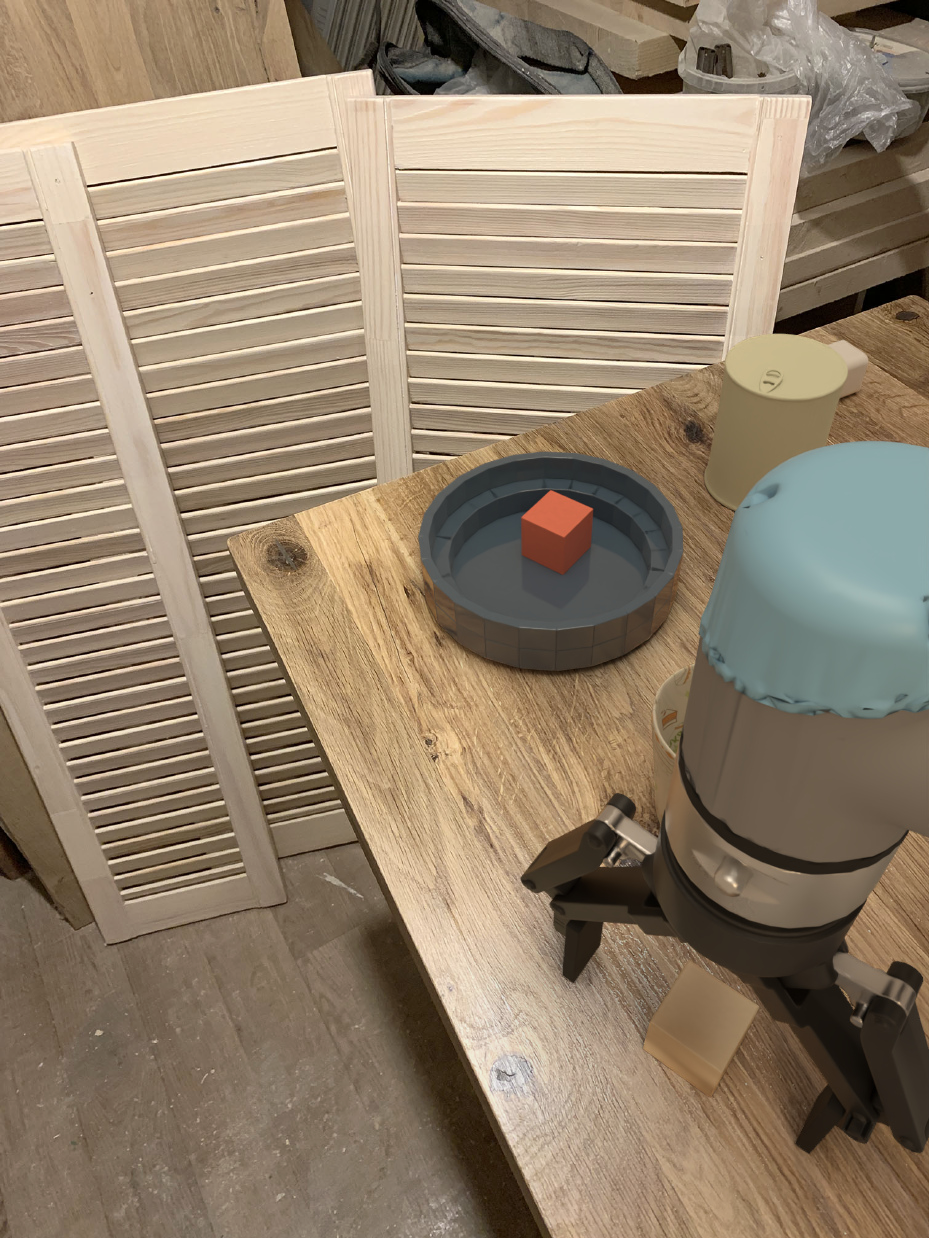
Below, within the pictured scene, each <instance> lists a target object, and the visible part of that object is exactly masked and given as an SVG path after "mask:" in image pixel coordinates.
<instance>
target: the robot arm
mask: <svg viewBox="0 0 929 1238" xmlns="http://www.w3.org/2000/svg"><path fill="white" fill-rule="evenodd" d="M725 541H726V542H725V544H724V548H723V552H722V555H721V559H720V562H719V565H718V568H717V573H716V576H715V578H714V582H713V587H712V589H711V593H710V595H709V598H708V601H707V604H706V606H705V608H704V610H703V612H702V615H701V616H700V622H699V628H698V635H699V639H698V644H697V649H696V655H695V660H694V663H695V665H694V671H693V676H692V681H691V687H690V692H689V697H688V703H687V708H686V713H685V719H684V724H683V728H682V732H681V736H680V739H679V744H678V749H677V754H676V758H675V763H674V768H673V773H672V778H671V782H670V787H669V792H668V797H667V802H666V806H665V810H664V814H663V817H662V821H661V824H660V827H659V832H658V835H657V836H655V835H654V834H652V833H651V832H650V831H648V830H646V829H645V827H642V826H641V824H640V822H638V821H637V820H635V819H634V817H635V815H636V812H637V806H636V804H635V802H634V801H633V800H632V799H631V798H630V797H629V796H627V795H626V794H624V793H620V792H615V793H614V794H613V795H612V796H611V797H610V799H609V800H608V801H607V802H606V804H605V805H604V807H602V809H601V810H600V812H599V813H598V814H597V815H596V817H595V818H593V819H591V820H589V821H587V822H584V823H583V824H581V825H579V826H577V827H575V828H574V829H572V830H570V831H568V832H566V833H564V834H562V835H560V836H557V837H556V838H553V839H552V840H550V841H548V842H547V844H546V845H545V846H544V847H543V848H542V849H541V851H540V852H539V853H538V855H536V857H535V858H534V859H533V861H532V862H531V863H530V864H529V866H528V867H527V868H526V869H525V871H524V872H523V874H522V875H521V876H520V877H519V879H520V883H521V884H522V886H523V887H524V888H526V889H527V890H528V891H530V892H531V893H534V894H540V893H543V892H544V893H545V894H546V895H547V896H548V897H549V898H550V899H551V900H550V901H549V903H548V905H549V908H550V909H551V911H552V912H553V917H552V918H553V920H552V921H553V922H552V926H553V927H554V930H555V931H556V932H557V933H559V934H560V935H561V936H563V937H564V948H563V961H562V971H561V973H562V974H561V976H562V977H563V978H565V979H566V980H568V981H569V982H571V983H572V984H575V982H576V981H577V979H578V978H579V976H580V975H581V974H582V973H583V971H584V969H585V968H586V967H587V965H588V964H589V963H590V961H591V959H592V958H593V956H594V955H595V953H596V952H597V951H598V949H600V947H601V942H602V936H603V935H602V934H603V929H604V923H610V924H622V925H635V926H638V928H639V929H640V930H641V931H642V932H643V933H644V935H647V936H656V937H657V936H658V937H666V938H667V937H669V938H677V939H678V941H679V943H683V944H687V945H688V946H689V947H690V948H692V949H693V950H694V951H695V952H697V953H698V954H699V955H701V956H702V957H703V958H705V959H707V960H708V961H710V962H712V963H714V964H715V965H718V966H719V967H721V968H723V969H726V970H728V971H729V972H730V973H731V974H733V975H734V976H735V977H737V978H738V979H739V981H741V983H742V984H746V985H749V986H750V988H751V989H752V991H753V992H754V993H755V996H756V997H757V998H758V999H759V1001H760V1003H761V1004H762V1006H763V1007H764V1008H765V1010H766V1011H767V1014H769V1016H770V1017H771V1019H772V1020H773V1021H774V1022H779V1023H783V1024H784V1025H785V1024H786V1025H788V1026H789V1028H790V1029H791V1031H792V1032H793V1034H794V1035H795V1037H796V1038H797V1040H798V1042H799V1043H800V1044H801V1046H802V1047H803V1049H804V1050H805V1052H806V1054H808V1055H807V1056H809V1057H810V1059H811V1061H812V1062H813V1063H814V1065H815V1067H816V1068H817V1070H818V1071H819V1073H820V1074H821V1076H822V1077H823V1079H824V1080H825V1082H826V1085H825V1087H824V1088H823V1089H822V1090H821V1092H820V1093H819V1094H818V1096H817V1097H816V1099H815V1101H814V1103H813V1105H812V1107H811V1110H810V1111H809V1114H808V1115H807V1118H806V1119H805V1122H804V1124H803V1125H802V1128H801V1130H800V1132H799V1134H798V1135H797V1138H796V1140H795V1142H794V1145H795V1146H797V1148H799V1149H801V1150H802V1151H803V1152H805V1153H806V1154H808V1155H810V1154H811V1153H812V1152H813V1151H814V1150H815V1149H816V1148H817V1146H818V1145H819V1144H820V1143H821V1142H822V1141H823V1140H824V1139H825V1138H826V1137H827V1135H828V1134H829V1133H830V1132H831V1131H832V1130H833V1129H834V1128H835V1127H836V1128H837V1129H839V1130H840V1131H842V1132H843V1133H844V1134H845V1135H846V1136H847V1137H849V1138H850V1139H852V1140H853V1141H855V1142H857V1143H859V1144H863V1145H866V1144H867V1145H868V1143H869V1141H870V1138H871V1136H872V1134H873V1131H874V1129H875V1127H876V1125H877V1124H882V1125H884V1126H886V1127H889V1129H890V1132H891V1135H892V1137H893V1139H894V1140H895V1141H896V1142H897V1143H898V1144H899V1145H900V1146H902V1147H903V1148H904V1149H905V1150H908V1151H910V1152H911V1153H914V1154H922V1153H923V1152H924V1150H925V1147H926V1145H927V1142H928V1140H929V1045H928V1040H927V1038H926V1034H925V1030H924V1027H923V1023H922V1019H921V1016H920V1013H919V1010H918V1005H917V1003H916V1000H917V997H918V995H919V992H920V991H921V988H922V986H923V983H924V976H923V974H922V972H920V971H919V970H918V969H917V968H915V967H914V966H913V965H911V964H909V963H907V962H904V961H899V960H893V961H892V962H891V963H890V965H889V967H888V969H887V971H885V970H884V969H882V968H878V967H876V968H875V967H874V966H871V964H868V963H867V962H864V961H863V960H861V959H859V958H858V957H855V956H853V955H852V954H850V953H849V946H848V943H847V940H846V936H847V935H848V933H849V931H850V929H851V928H852V926H853V925H854V923H855V921H856V920H857V918H858V917H859V915H860V913H861V912H862V910H863V908H864V906H865V905H866V904H867V901H868V898H869V896H870V895H871V894H872V892H873V891H874V889H875V888H876V887H877V885H878V883H879V882H880V881H881V878H882V877H883V875H884V873H886V870H887V869H888V867H889V865H890V863H891V862H892V860H893V858H894V857H895V856H896V853H897V852H898V850H899V848H900V847H901V845H902V844H903V843H904V841H905V840H906V837H907V836H908V835H909V832H913V833H915V834H918V835H921V836H923V837H925V838H926V837H927V838H929V447H926V446H922V445H917V444H912V443H911V444H910V443H905V442H896V441H887V440H859V441H858V440H857V441H847V442H839V443H835V444H830V445H826V446H824V447H820V448H817V449H813V450H810V451H807V452H804V453H802V454H799V455H797V456H795V457H792V458H790V459H789V460H787V461H785V462H783V463H782V464H780V465H778V466H777V467H775V468H774V469H772V470H771V471H769V472H768V473H767V474H766V475H765V476H764V477H763V478H762V479H761V480H759V481H758V482H757V483H756V484H755V485H754V486H753V488H752V489H751V490H750V491H749V493H748V494H747V496H746V497H745V499H744V500H743V501H742V503H741V504H740V505H739V507H738V508H737V510H736V511H734V514H733V516H732V520H731V525H730V528H729V531H728V534H727V538H726V540H725ZM631 859H632V860H635V861H637V862H640V863H641V864H640V866H639V865H638V866H637V865H636V866H615V865H616V863H617V862H618V861H619V860H620V861H622V862H625V861H628V860H631ZM602 865H604V866H602ZM846 995H847V997H848V998H847V997H846Z"/></svg>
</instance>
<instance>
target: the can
mask: <svg viewBox="0 0 929 1238" xmlns="http://www.w3.org/2000/svg"><path fill="white" fill-rule="evenodd" d="M827 345H828V344H825V343H823V342H821V341H819V340H816V339H814V338H811V337H810V338H809V337H806V336H801V335H796V334H788V333H787V334H786V333H767V334H766V333H765V334H759V335H755V336H752V337H749V338H746V339H743V340H741V341H739V342H738V343H736V344H734V345H733V346H732V347H731V348H730V349H729V350H728V351H727V353H726V355H725V358H724V369H723V376H722V382H721V387H720V394H719V395H720V396H719V401H718V405H717V406H718V408H717V412H716V419H715V425H714V429H713V436H712V443H711V446H710V452H709V457H708V462H707V465H706V467H705V470H704V474H703V475H704V476H703V479H704V484H705V487H706V489H707V491H708V493H709V494H710V495H711V497H712V498H713V499H714V500H715V501H716V502H718V503H719V504H720V505H722V506H724V507H726V508H727V509H729V510H731V511H734V512H735V511H736V510H737V508H738V507H739V505H740V504H741V503H742V501H743V500H744V499H745V497H746V496H747V494H748V493H749V491H750V490H751V489H752V488H753V486H754V485H755V484H756V483H757V482H758V481H759V480H761V479H762V478H763V477H764V476H765V475H766V474H767V473H768V472H769V471H771V470H772V469H774V468H775V467H777V466H778V465H780V464H782V463H783V462H785V461H787V460H789V459H790V458H792V457H795V456H797V455H799V454H802V453H804V452H807V451H810V450H813V449H817V448H820V447H824V446H827V442H828V440H829V435H830V432H831V429H832V425H833V421H834V418H835V415H836V411H837V408H838V405H839V401H840V399H841V398H840V395H841V392H842V389H843V386H844V383H845V381H846V379H847V376H848V368H847V365H846V362H845V361H844V359H843V358H842V356H841V355H840V354H839V353H837V352H836V351H835V350H834V349H832V348H831V347H829V346H827Z"/></svg>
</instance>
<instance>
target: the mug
mask: <svg viewBox="0 0 929 1238" xmlns="http://www.w3.org/2000/svg"><path fill="white" fill-rule="evenodd" d="M694 665H695V662H694V663H691V664H689V665H686V666H683V667H682V668H680V669H678V670H676V671H675V672H674V673H673V672H672V674H670V675H669V676H668V677H667V678H666V679H665V680H664V682H663V683H662V684H661V685H660V687H659V688H658V689H657V691H656V694H655V696H654V698H653V702H652V707H651V716H650V724H651V742H652V743H651V744H652V745H651V746H652V762H653V763H652V764H653V778H654V800H655V801H654V802H655V811H656V816H657V819H658V822H659V824H660V825H661V821H662V817H663V814H664V810H665V806H666V802H667V797H668V792H669V787H670V782H671V778H672V773H673V768H674V763H675V758H676V754H677V749H678V744H679V739H680V736H681V732H682V728H683V724H684V719H685V713H686V708H687V703H688V697H689V692H690V687H691V681H692V676H693V671H694Z"/></svg>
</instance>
